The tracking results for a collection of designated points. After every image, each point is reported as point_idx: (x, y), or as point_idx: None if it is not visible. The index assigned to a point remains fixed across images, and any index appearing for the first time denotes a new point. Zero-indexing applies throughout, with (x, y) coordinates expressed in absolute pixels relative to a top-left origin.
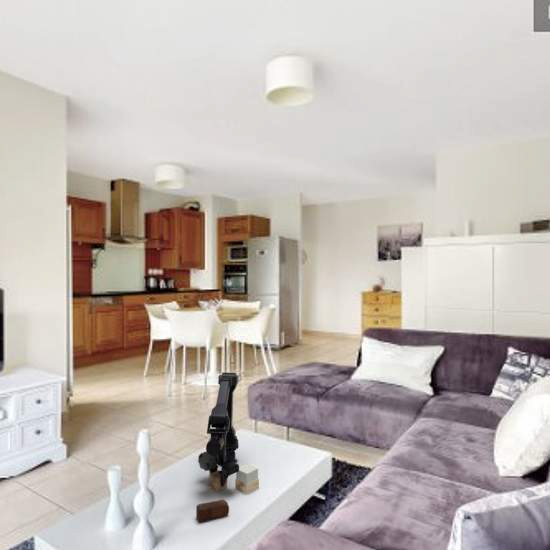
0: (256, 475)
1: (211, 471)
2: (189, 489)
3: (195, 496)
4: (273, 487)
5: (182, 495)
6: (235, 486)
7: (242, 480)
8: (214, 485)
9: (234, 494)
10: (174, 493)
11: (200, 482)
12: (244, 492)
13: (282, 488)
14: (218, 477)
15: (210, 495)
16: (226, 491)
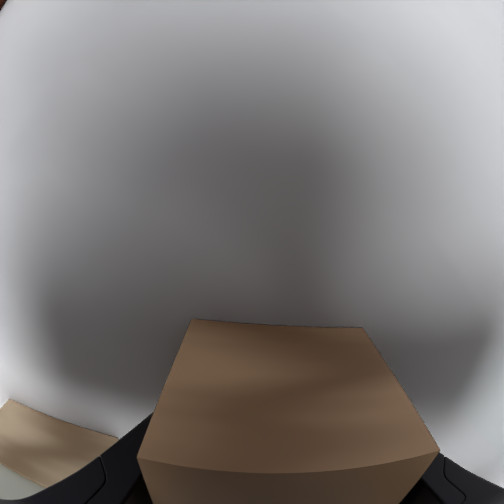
0: None
1: (429, 502)
2: (487, 136)
3: (325, 44)
4: None
5: (438, 8)
6: None
7: (7, 480)
8: (251, 357)
9: (41, 366)
10: (497, 20)
11: (482, 317)
12: (23, 411)
13: None
14: (165, 486)
15: (180, 188)
16: (120, 373)
